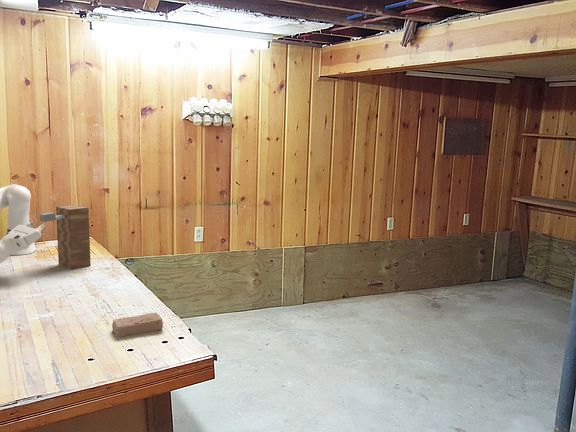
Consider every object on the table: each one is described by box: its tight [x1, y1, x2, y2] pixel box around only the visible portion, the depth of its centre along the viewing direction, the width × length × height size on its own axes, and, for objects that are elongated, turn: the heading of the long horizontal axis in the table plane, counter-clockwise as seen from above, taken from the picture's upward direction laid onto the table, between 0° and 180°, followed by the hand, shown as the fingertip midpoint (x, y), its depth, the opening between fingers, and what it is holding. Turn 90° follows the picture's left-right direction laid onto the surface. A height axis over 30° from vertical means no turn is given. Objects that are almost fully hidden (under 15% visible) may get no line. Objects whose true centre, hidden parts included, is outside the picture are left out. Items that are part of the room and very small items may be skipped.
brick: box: [111, 312, 164, 338], centre depth 187 cm, size 17×8×5 cm, turn 120°
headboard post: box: [55, 204, 92, 270], centre depth 270 cm, size 14×10×31 cm
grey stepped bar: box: [39, 211, 65, 223], centre depth 262 cm, size 16×4×4 cm, turn 142°
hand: (38, 223), depth 255 cm, fingers open, 8 cm apart
